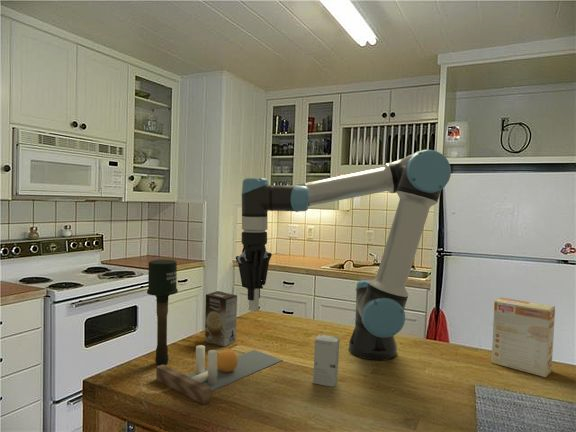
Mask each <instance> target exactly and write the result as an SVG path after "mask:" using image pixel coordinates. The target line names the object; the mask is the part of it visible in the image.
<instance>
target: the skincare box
mask: <svg viewBox="0 0 576 432" xmlns="http://www.w3.org/2000/svg"><path fill="white" fill-rule="evenodd" d="M340 340H341V338H340V337H338V336H332V335H324V334H318V335H317V336H316V337H315V340H314V354H313V355H314V357H313V374H312V376H313V377H312V384H316V385H321V386H327V387H332V388H333V387H335V385H336V384H337V382H338V375H339V355H340V342H341V341H340Z"/></svg>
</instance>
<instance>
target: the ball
mask: <svg viewBox="0 0 576 432" xmlns="http://www.w3.org/2000/svg"><path fill="white" fill-rule="evenodd" d="M237 356H238V355H237V354H236V353H235V351H233V350H231V349H225V350H222V351H220V352H219V353H218V354H217V367H218V369H219V370H220V371H222V372H231V371H233V370H234V369H235V368H236V366H237V363H238V358H237Z"/></svg>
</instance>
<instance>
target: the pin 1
mask: <svg viewBox="0 0 576 432" xmlns="http://www.w3.org/2000/svg"><path fill="white" fill-rule="evenodd" d="M205 364H206V346H205V345H202V344H200V345H196V346H195V372H196V375H198V374H201V373H203V372H205V368H206V367H205Z"/></svg>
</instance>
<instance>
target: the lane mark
mask: <svg viewBox="0 0 576 432" xmlns="http://www.w3.org/2000/svg"><path fill="white" fill-rule="evenodd" d="M237 358H238V363H237V366H236V368H235V369H234V370H233V371H231V372H222V371H220V370H219V369H218V367H217V383H216V384H213V385H211V384H208V381H206V382H203V383H202V384H204V385H206V386H209V387H211V392H214V391H216V390H218V389H221V388H223V387H225V386H227V385H229V384H232V383H235V382H237V381H239V380H241V379H243V378H246V377H249V376H250V375H253V374H255V373H257V372H260V371H262V370H265V369H267V368H269V367H271V366H274V365H275V364H279V363H281V362H282V361H283V359H281V358H278V357H275V356H272V355H270V354H267V353H265V352H261V351H258V350H255V349H252V350H250V351H247V352H245V353H242V354H239V355H237ZM206 371H208V366H207V367H205V372H206ZM186 376H188V377H193V376H196V371H195V372H191V373H188V374H186Z"/></svg>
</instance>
